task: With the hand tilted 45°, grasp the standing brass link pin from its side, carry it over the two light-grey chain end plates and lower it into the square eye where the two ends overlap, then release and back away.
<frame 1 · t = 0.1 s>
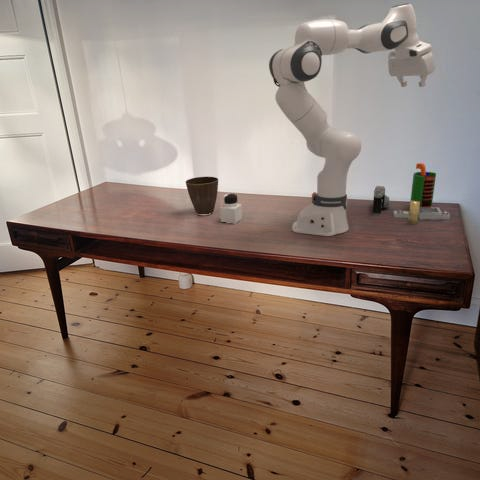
hand: (413, 86, 166), 52 cm above the table, tool tilted 20°, fingers open, 8 cm apart
link pin: (412, 222, 172), on the table
plant pot: (204, 214, 199), on the table
motor: (420, 209, 188), on the table
medicine bottle: (231, 221, 186), on the table
camera: (380, 209, 191), on the table
chain joint: (429, 217, 177), on the table
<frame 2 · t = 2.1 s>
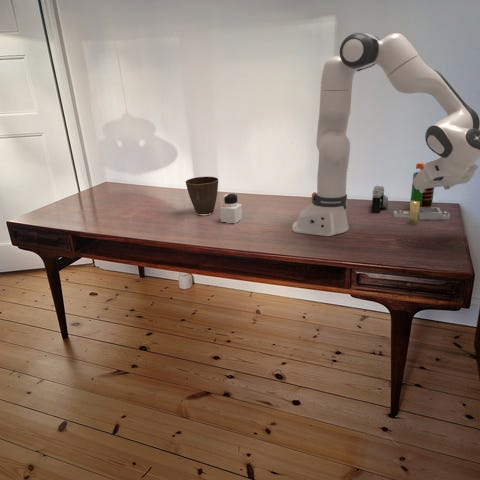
hand: (433, 189, 155), 17 cm above the table, tool tilted 45°, fingers open, 8 cm apart
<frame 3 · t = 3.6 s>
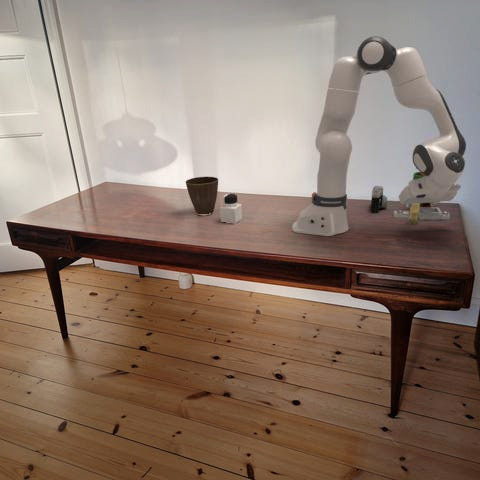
hand: (419, 204, 165), 9 cm above the table, tool tilted 45°, fingers open, 8 cm apart
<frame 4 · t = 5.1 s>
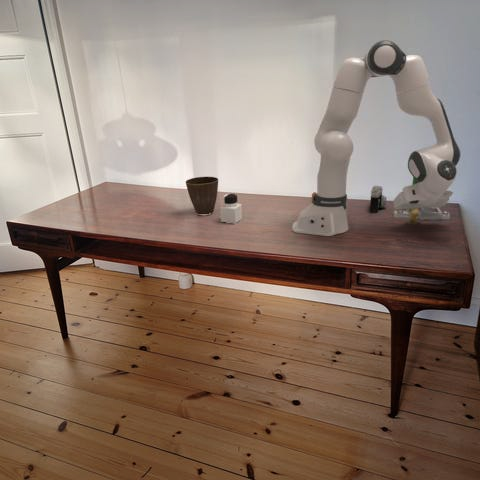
hand: (413, 210, 170), 5 cm above the table, tool tilted 45°, fingers closed on link pin, 3 cm apart
link pin: (412, 222, 172), on the table, touching gripper
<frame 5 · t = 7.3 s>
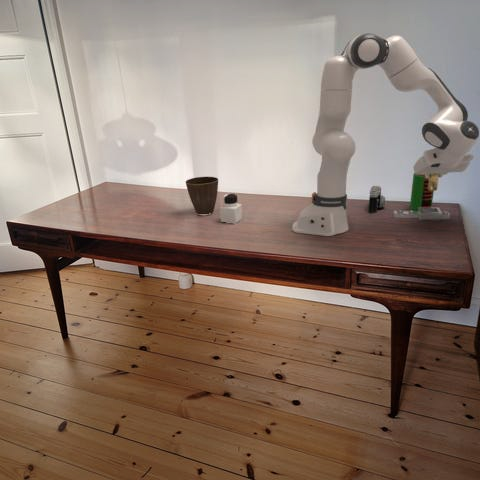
hand: (432, 176, 171), 17 cm above the table, tool tilted 45°, fingers closed on link pin, 3 cm apart
link pin: (432, 189, 173), point 12 cm above the table, touching gripper
when the fingers open (7 cm above the table, at t = 9.8 s): link pin drops 1 cm, resting on chain joint.
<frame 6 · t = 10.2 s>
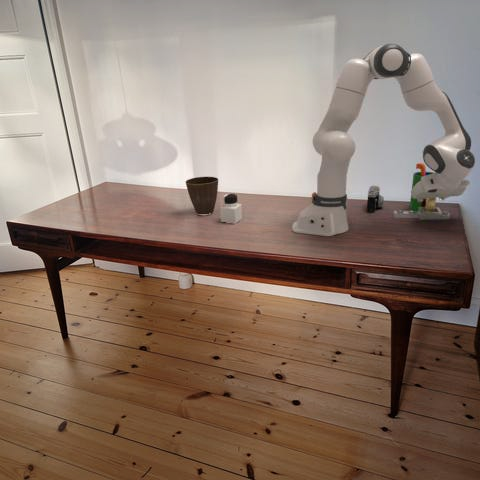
hand: (430, 199, 175), 7 cm above the table, tool tilted 45°, fingers open, 8 cm apart
link pin: (429, 215, 177), point 1 cm above the table, touching chain joint
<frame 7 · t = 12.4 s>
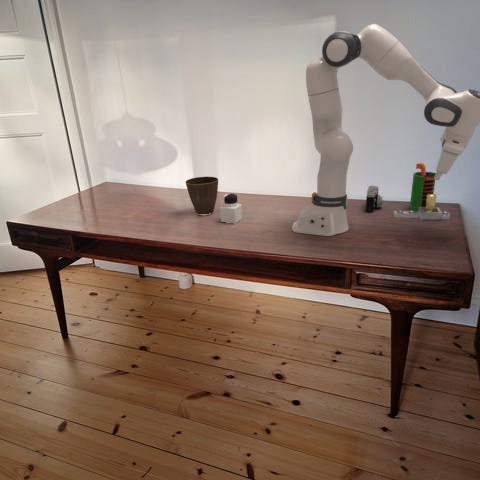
hand: (437, 173, 154), 22 cm above the table, tool tilted 20°, fingers open, 8 cm apart
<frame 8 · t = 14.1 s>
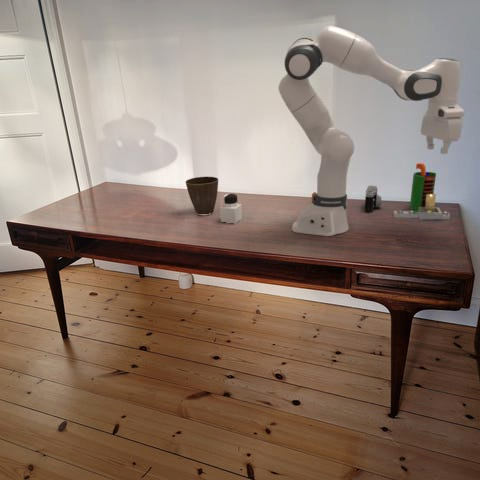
hand: (436, 151, 148), 31 cm above the table, tool pointing down, fingers open, 8 cm apart
at the end: link pin 0.0 cm off-centre on the chain joint, point 0.9 cm above the chain joint's base; link pin tilted 2°; the gripper is holding nothing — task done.
